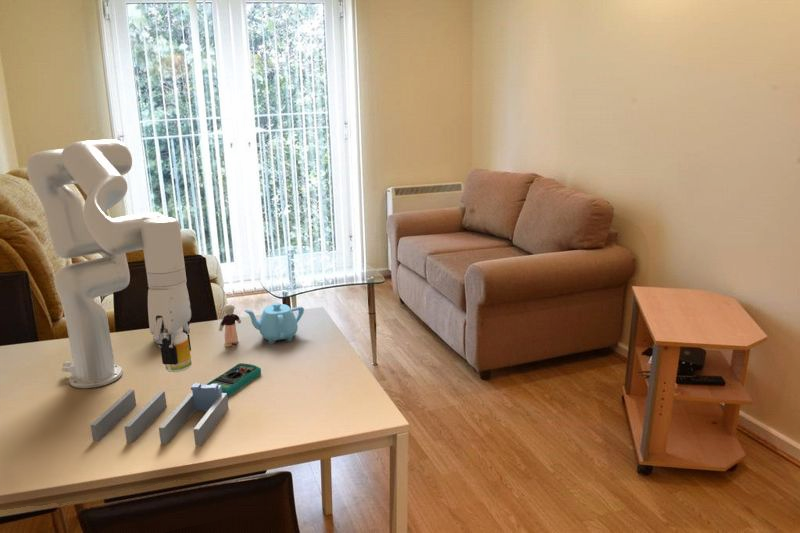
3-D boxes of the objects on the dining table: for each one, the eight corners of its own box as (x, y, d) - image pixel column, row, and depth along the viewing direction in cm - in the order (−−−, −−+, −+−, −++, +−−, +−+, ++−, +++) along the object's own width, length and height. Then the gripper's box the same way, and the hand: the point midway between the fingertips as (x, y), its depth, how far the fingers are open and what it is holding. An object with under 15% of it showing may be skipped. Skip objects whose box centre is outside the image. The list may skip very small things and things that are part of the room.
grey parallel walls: (93, 441, 131) (88, 413, 129) (131, 404, 146) (127, 379, 144) (200, 446, 128) (197, 417, 127) (228, 408, 144) (225, 382, 142)
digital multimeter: (263, 375, 162) (262, 364, 161) (227, 400, 149) (226, 389, 148) (240, 370, 164) (239, 360, 164) (203, 394, 151) (202, 384, 151)
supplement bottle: (197, 364, 132) (191, 322, 129) (179, 374, 127) (172, 331, 124) (179, 361, 134) (172, 319, 131) (160, 370, 129) (153, 328, 127)
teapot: (307, 335, 187) (306, 301, 185) (277, 350, 175) (276, 313, 173) (276, 329, 193) (274, 295, 191) (245, 342, 181) (242, 307, 179)
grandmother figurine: (229, 349, 177) (225, 308, 174) (218, 346, 179) (214, 306, 175) (246, 339, 184) (242, 300, 180) (236, 337, 185) (232, 298, 182)
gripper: (169, 265, 133) (178, 341, 138) (127, 289, 117) (140, 374, 122) (201, 266, 133) (210, 342, 137) (164, 290, 116) (175, 376, 121)
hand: (177, 356), depth 130 cm, fingers closed on supplement bottle, 5 cm apart
